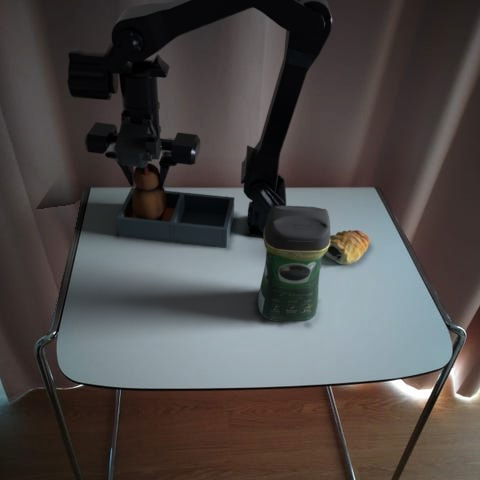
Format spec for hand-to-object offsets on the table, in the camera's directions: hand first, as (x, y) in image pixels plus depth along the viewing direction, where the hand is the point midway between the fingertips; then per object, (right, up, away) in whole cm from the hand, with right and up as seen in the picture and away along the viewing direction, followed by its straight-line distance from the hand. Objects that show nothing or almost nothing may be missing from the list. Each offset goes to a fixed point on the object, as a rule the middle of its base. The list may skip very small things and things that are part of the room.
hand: (147, 186), depth 90 cm
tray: (+5, -6, +5) cm, 10 cm away
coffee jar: (+25, -22, -8) cm, 34 cm away
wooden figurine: (0, -5, +5) cm, 7 cm away
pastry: (+36, -12, +2) cm, 38 cm away
